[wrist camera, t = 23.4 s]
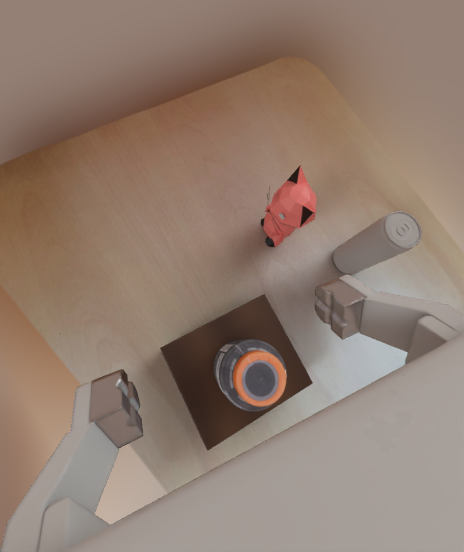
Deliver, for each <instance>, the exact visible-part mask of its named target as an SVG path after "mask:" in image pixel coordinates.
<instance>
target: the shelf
mask: <svg viewBox="0 0 464 552" xmlns="http://www.w3.org/2000/svg"><path fill="white" fill-rule="evenodd" d="M247 339H256V340H261V341H264V342H266V343H268V344H270V345H271V346H273V347H274V348H275V349H276V350H277V351H278V352H279V354H280V355H281V357H282V359H283V361H284V364H285V367H286V386H285V389H284V392H283V394H282V395H281V397H280V398H279V399H278V400H277V402H276V403H274V404H273V405H272V406H270V407H269V408H267V409H265V410H261V411H254V412H253V411H245V410H242V409H240V408H238V407H236V406H235V405H234V404H232V403H231V402H230V401H229V400H228V399H227V397H226V396H225V394H224V393H223V392H222V390H221V388H220V386H219V384H218V382H217V380H216V378H215V375H214V368H213V367H214V359H215V357H216V354H217V353H218V351H219V350H220V349H221V348H222V347H223V346H224V345H225V344H227V343H229V342H231V341H236V340H247ZM160 349H161V351H162V353H163V355H164V358H165V360H166V362H167V364H168V366H169V368H170V371H171V373H172V375H173V377H174V379H175V381H176V384H177V386H178V388H179V390H180V392H181V394H182V397H183V399H184V401H185V403H186V405H187V407H188V410H189V412H190V414H191V416H192V418H193V420H194V423H195V425H196V427H197V429H198V431H199V433H200V436H201V438H202V440H203V442H204V444H205V446H206V449H207V450H209V449H211V448H212V447H214V446H216V445H217V444H219V443H220V442H222V441H223V440H225V439H226V438H228V437H230V436H231V435H233V434H234V433H236V432H237V431H239V430H241V429H242V428H244V427H245V426H247V425H248V424H250V423H251V422H253V421H255V420H256V419H258V418H259V417H261V416H262V415H264V414H265V413H267V412H269V411H270V410H272V409H273V408H275V407H276V406H278V405H279V404H281V403H283V402H284V401H286V400H287V399H289V398H290V397H292V396H294V395H295V394H297V393H298V392H300V391H301V390H303V389H304V388H306V387H308V386H309V385H311V384H312V383H313V382H312V381H311V379H310V377H309V375H308V373H307V371H306V370H305V368H304V366H303V364H302V362H301V360H300V359H299V357H298V355H297V353H296V351H295V349H294V347H293V346H292V344H291V342H290V340H289V338H288V336H287V335H286V333H285V331H284V329H283V327H282V325H281V324H280V322H279V320H278V318H277V316H276V314H275V313H274V311H273V309H272V307H271V305H270V303H269V302H268V300H267V298H266V296H265V294H264V295H262V296H260V297H258V298H256V299H254V300H252V301H250V302H248V303H246V304H244V305H242V306H240V307H239V308H237V309H235V310H233V311H231V312H229V313H227V314H225V315H223V316H221V317H219V318H217V319H215V320H214V321H212V322H210V323H208V324H206V325H204V326H202V327H200V328H198V329H196V330H194V331H192V332H190V333H188V334H187V335H185V336H183V337H181V338H179V339H177V340H175V341H173V342H171V343H169V344H167V345H165V346H163V347H162V348H160Z"/></svg>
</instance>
